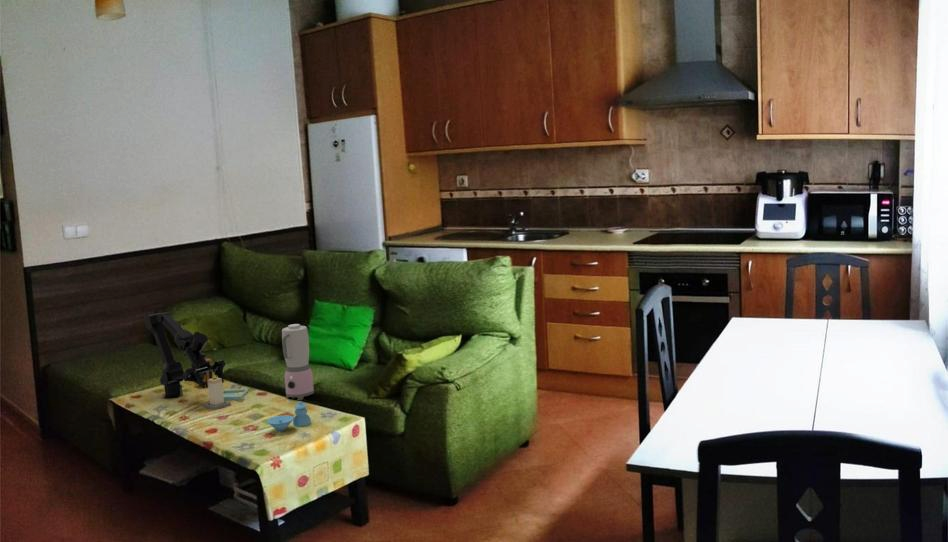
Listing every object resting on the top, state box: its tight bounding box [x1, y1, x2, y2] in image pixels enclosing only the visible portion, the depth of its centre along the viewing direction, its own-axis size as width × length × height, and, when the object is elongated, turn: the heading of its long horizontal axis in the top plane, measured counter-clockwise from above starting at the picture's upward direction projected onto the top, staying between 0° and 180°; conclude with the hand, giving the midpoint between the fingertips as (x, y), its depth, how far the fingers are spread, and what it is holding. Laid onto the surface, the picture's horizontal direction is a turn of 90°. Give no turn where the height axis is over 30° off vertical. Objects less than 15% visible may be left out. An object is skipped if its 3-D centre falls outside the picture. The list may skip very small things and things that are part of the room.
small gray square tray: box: [203, 400, 232, 411], centre depth 352 cm, size 8×9×2 cm
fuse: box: [207, 376, 224, 406], centre depth 351 cm, size 4×4×12 cm
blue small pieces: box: [266, 400, 312, 432], centre depth 318 cm, size 18×10×9 cm, turn 135°
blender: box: [281, 323, 315, 401], centre depth 358 cm, size 16×12×32 cm
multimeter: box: [201, 345, 215, 387], centre depth 390 cm, size 15×10×20 cm
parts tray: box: [223, 388, 249, 401], centre depth 366 cm, size 12×12×2 cm
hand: (213, 385), depth 351 cm, fingers open, 9 cm apart
